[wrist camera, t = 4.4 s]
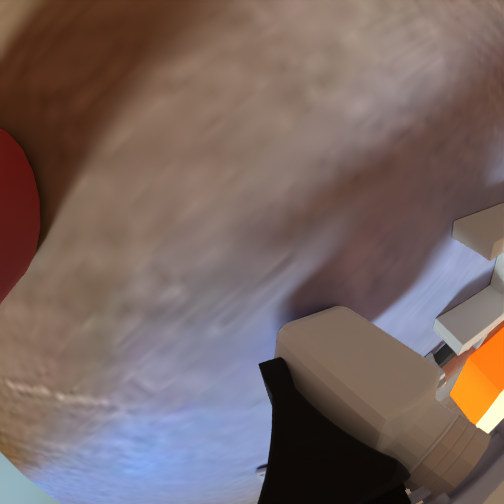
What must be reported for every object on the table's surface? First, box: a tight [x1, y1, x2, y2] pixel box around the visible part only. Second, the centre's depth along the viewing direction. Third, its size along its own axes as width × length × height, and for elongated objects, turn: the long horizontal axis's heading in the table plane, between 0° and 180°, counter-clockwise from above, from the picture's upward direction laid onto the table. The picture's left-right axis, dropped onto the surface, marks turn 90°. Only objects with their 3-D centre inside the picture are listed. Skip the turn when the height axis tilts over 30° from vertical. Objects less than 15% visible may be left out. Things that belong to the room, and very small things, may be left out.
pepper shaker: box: [274, 306, 491, 502], centre depth 9 cm, size 4×4×10 cm
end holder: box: [433, 203, 504, 356], centre depth 13 cm, size 8×8×3 cm
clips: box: [425, 334, 488, 393], centre depth 17 cm, size 4×13×2 cm, turn 132°
